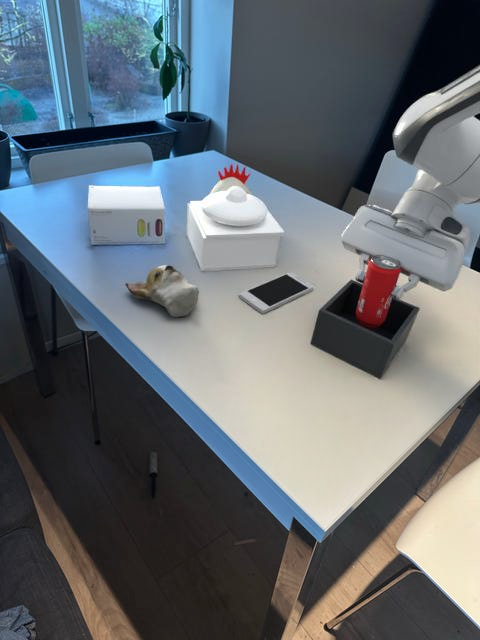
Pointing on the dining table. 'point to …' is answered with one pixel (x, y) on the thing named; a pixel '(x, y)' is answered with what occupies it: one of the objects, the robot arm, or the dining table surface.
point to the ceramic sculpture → (167, 290)
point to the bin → (362, 331)
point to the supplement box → (126, 215)
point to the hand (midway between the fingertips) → (376, 289)
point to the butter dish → (232, 231)
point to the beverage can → (377, 290)
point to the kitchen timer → (232, 180)
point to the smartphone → (276, 292)
